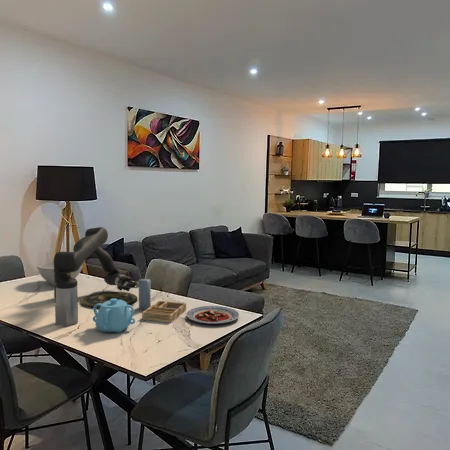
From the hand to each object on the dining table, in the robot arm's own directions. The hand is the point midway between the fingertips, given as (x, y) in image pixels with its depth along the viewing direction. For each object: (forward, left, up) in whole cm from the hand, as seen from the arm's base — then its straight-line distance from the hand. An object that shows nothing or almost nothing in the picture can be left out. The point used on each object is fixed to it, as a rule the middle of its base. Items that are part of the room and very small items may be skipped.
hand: (136, 288), depth 220 cm
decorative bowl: (+24, +65, -9) cm, 70 cm away
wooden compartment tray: (-12, -22, -8) cm, 26 cm away
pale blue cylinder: (-6, -8, -9) cm, 13 cm away
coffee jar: (-5, +42, -9) cm, 43 cm away
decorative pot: (-37, -8, -9) cm, 39 cm away
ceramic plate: (-9, -46, -9) cm, 48 cm away
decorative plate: (0, +16, -9) cm, 19 cm away
